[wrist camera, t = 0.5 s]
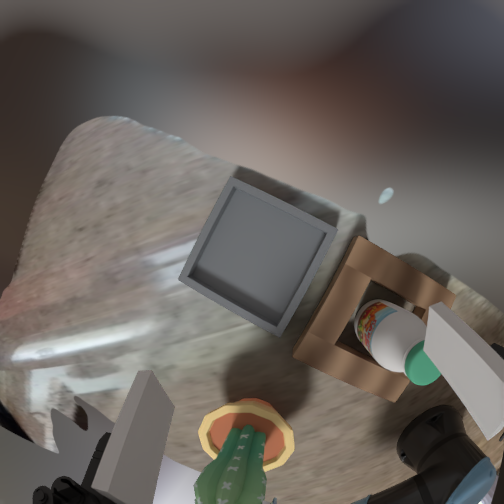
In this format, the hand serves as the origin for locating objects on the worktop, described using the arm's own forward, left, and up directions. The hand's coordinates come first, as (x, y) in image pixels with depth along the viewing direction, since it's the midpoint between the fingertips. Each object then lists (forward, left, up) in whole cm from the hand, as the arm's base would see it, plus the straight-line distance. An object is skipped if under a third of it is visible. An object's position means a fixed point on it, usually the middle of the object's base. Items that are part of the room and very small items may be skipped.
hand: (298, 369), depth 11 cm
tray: (+8, -2, -31) cm, 32 cm away
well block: (-14, -1, -31) cm, 34 cm away
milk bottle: (-14, -1, -31) cm, 34 cm away
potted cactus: (-5, +24, -31) cm, 40 cm away
